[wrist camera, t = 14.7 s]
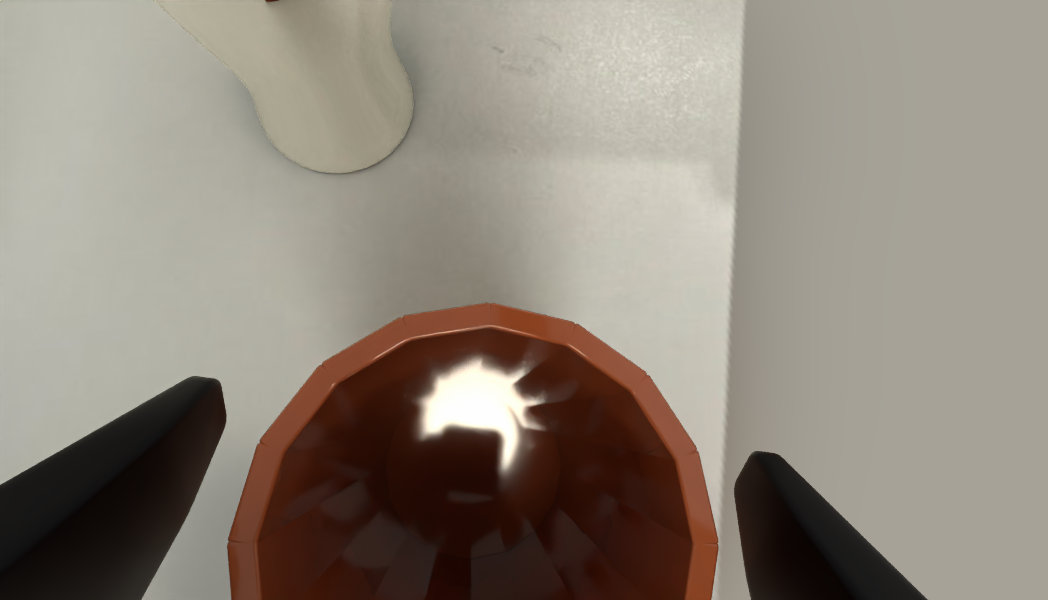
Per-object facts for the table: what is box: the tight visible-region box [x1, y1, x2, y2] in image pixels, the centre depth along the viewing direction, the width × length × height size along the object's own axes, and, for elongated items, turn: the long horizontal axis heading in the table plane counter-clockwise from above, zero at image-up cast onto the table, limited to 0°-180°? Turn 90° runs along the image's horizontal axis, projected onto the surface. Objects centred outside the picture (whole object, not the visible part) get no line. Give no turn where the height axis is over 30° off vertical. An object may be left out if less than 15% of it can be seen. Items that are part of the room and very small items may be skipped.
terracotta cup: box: [227, 303, 718, 600], centre depth 14 cm, size 7×7×13 cm
